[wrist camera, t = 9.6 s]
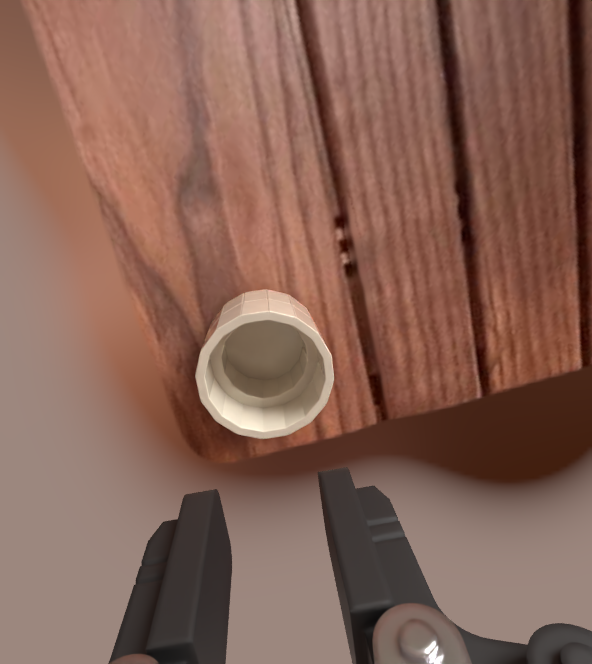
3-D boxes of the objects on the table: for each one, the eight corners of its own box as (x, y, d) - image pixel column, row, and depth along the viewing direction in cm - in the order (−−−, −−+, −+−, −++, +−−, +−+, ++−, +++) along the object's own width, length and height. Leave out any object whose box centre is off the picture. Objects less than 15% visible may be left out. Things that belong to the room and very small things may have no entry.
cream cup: (220, 397, 23) (211, 448, 18) (199, 296, 21) (182, 323, 17) (323, 381, 23) (339, 427, 19) (310, 280, 22) (325, 302, 17)
